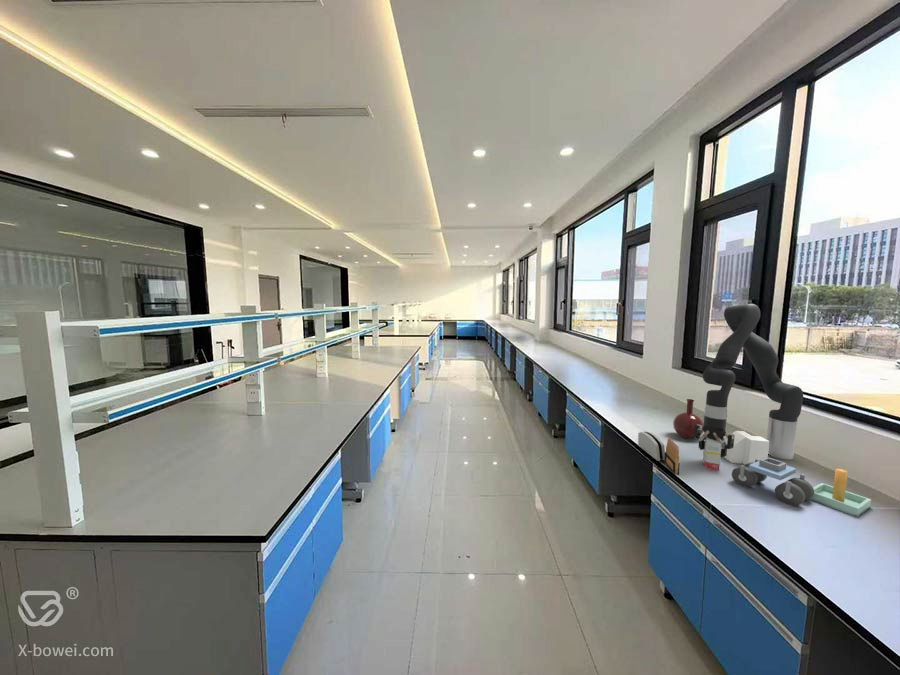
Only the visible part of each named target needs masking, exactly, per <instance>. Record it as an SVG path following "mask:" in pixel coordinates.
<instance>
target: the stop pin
mask: <svg viewBox="0 0 900 675" xmlns="http://www.w3.org/2000/svg"><path fill="white" fill-rule="evenodd" d="M848 475H849V471H847V470H846V469H841V468H835V474H834V481H833V495H832V499H835V500H838V501H840V502H843V503H844V500H845V492H846V491H847V484H848Z"/></svg>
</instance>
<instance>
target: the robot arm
mask: <svg viewBox="0 0 900 675" xmlns="http://www.w3.org/2000/svg"><path fill="white" fill-rule="evenodd" d="M723 317H724V320H725V322H726V324H727V326H728V327H729V328H730V330H731V331H732V333H731V335H729V336H728V337H727V338H726V339H725V340H724V341H723V342H722V343H721V344H720V346H719V348H718V349H717V352H716V354H715V357H714V358H713V359H712V361H711V362H710V364H709V365H707V367H706V368H705V370H704V371H703V373H702V379H703V382H705V383H706V384H709V385H713V386H719V387H720V388H719V389H710V390H708V391H706V398H705V399H706V400H705V407H704V412H703V423H704V425H703V426H701V425H700V424H698V425H695V432H694V438H695V439H696V440H698V448H699V450H700V451H704V445H705V438H706V437H708V438H711V439H714V440H717V441H718V442H719V443H721V444H722V446H721V456H720V458H724V457H725V456H726V455H727V449H731V448H733V446H734V437H735V435H734V434H732V433H727V432H726V430H727V421H728V420H727V418H728V401H729V399H728V398H729V395H730V392H731V390H732V388H733V385H735V384H734V383H735V382H736V374H735V372H734V371H732V370H731V369H730V370H729V369H727V368H733V367H734V366H736V364H737V361H738V358H739V355H740V352H741V350H742V349H743V351H745V353H746V356H747V357H748V359H749V361H750V363H751V365H752V366H753V368H754V370H755V372H756V373H757V376H758V377H759V380H760V381H761V383H762V387H763V389H764V392H765V394H766V396H767V397H768V399H770V400H771V401H773V402H775V403H779V405H780V406H779V408H778V409H770V411H769V414H768V422H767V434H766V440H768V441H770V442H769V451H768V454H769V455H768V456H770V455H771V457H772V458H773V457H774V458H776V459H781V460H793V459H794V455H795V454H794V452H795V444H796V436H797V427H798V426H797V424H798V419H799V417H800V416H801V411H802V407H803V401H804V392H803V389H802V388H801V387H799V386H797V385H793V384H789V383H785V382H783V381H782V379H780V377H779V375H778V373H777V368H778V366H779V357H778V354H777V353H776V351H775V349H774V348H773V346H772V345H771V344H770V342H768V341H767V340H766V339H764V338H763V337H761V336H759V335H757V334H756V333H754V332H753V331H754V329H755V328H756V327H757V325H758V323H759V321H760V319H761V310H760V308H759V306H758V305H757V304H754V303H745V304H736V305H731V306H728V307H726V308H725V309H724V312H723ZM725 368H726V369H725ZM702 429H703V431H704V432H703V434H702V435H701V436H700V433H701V430H702ZM725 438H727V439H728V441H727V444H726V440H725Z"/></svg>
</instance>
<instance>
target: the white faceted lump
mask: <svg viewBox="0 0 900 675" xmlns="http://www.w3.org/2000/svg"><path fill="white" fill-rule="evenodd" d="M731 434H734V435H735V437H734V446H733V448H731V449H727V455H726V456H725V457H723V458H724V459H726V460H727V461H729V462H730V463H733V464H742V463H743V464H744V465H745V464H748V463H755V459H758V460H759V461H760V460H761V459H763V458H766V457H769V455H768V451H769V442H770V441H768V440H767V438H764V437H763V436H761V435H760V436H757V435H751V434H749V433H748V432H746V431H744V430H743V431H741V430H734V431H733V432H732V433H731ZM724 439H725V440H726V444H727V441H728V439H727V438H726V437H724ZM743 464H742V465H743Z"/></svg>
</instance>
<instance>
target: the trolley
mask: <svg viewBox="0 0 900 675" xmlns="http://www.w3.org/2000/svg"><path fill="white" fill-rule="evenodd" d="M787 464H788V463H787V462H784V461H781V460H779V459H775V458H773V457H772V458H771V457H769V456H768V457H766V458H763V459H761V460H760V461H759V460H758V459H755V463H748V464H744V465H743V464H741V465H740V466H739V467H735V468H734V469H733V470H732V471H731V477H732V480H733V481H734V483H735V484H737V485H738V486H741V487H744V488H750V487H753V486H755V485H757V484H759V483H761V482H764V481H765V480H766V479H767V478H768V477H770V478H773V479H775V480H778V481H782V480H784V479H787V478H788V477H790V476H792V475H794V474H796V473H797V467H796V468H795V467H793V466H789V465H787ZM805 478H806V475H805V474H804V473H801V474H800V475H799V477H792V478H790V479H788V480H786V481H783V482H782V483H779V484H778V485H777V486H775V488H774V494H775V496H776V498H777V499H778V500H779V501H780V502H782V503H784V504H787V505H789V506H791V507H796V506H798V505H801V504H802V503H804V502H805V501H807V500H810V499H809V498H811V497H812V496H813V495H814V489H813V487H814V486H812V484H811V483H810V482H809V481H807V480H805Z"/></svg>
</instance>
